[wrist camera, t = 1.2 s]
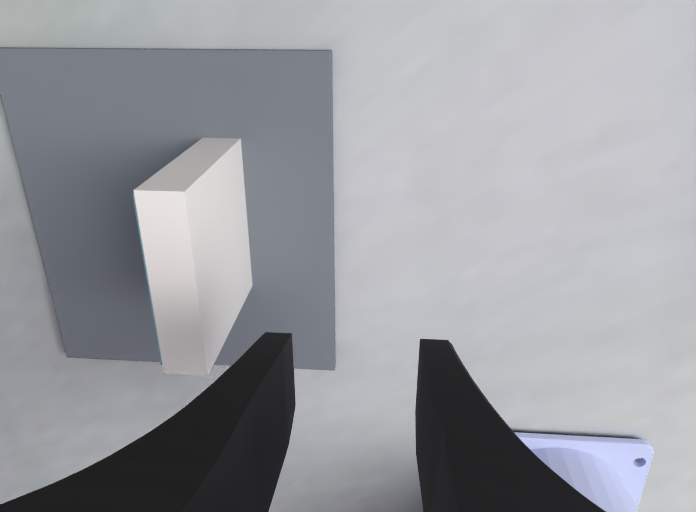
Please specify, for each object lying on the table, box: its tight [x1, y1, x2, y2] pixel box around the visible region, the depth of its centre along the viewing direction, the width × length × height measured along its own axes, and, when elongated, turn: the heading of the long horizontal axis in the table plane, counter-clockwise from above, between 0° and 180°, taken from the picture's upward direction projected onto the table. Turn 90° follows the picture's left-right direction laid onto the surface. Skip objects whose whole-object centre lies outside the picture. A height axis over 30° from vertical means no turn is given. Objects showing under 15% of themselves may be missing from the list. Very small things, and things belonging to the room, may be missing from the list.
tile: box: [132, 138, 253, 376], centre depth 19 cm, size 6×2×6 cm, turn 0°
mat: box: [0, 47, 335, 370], centre depth 22 cm, size 13×12×1 cm
